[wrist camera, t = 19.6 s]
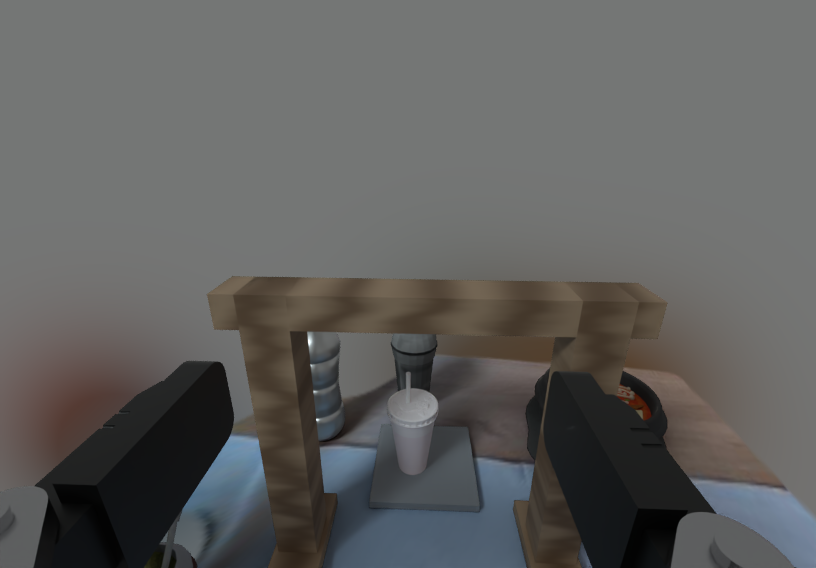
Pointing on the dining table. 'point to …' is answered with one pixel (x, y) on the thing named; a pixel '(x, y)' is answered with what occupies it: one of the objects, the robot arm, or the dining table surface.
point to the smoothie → (412, 426)
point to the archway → (414, 314)
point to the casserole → (628, 392)
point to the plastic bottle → (326, 383)
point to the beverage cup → (414, 359)
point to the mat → (427, 474)
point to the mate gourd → (171, 553)
